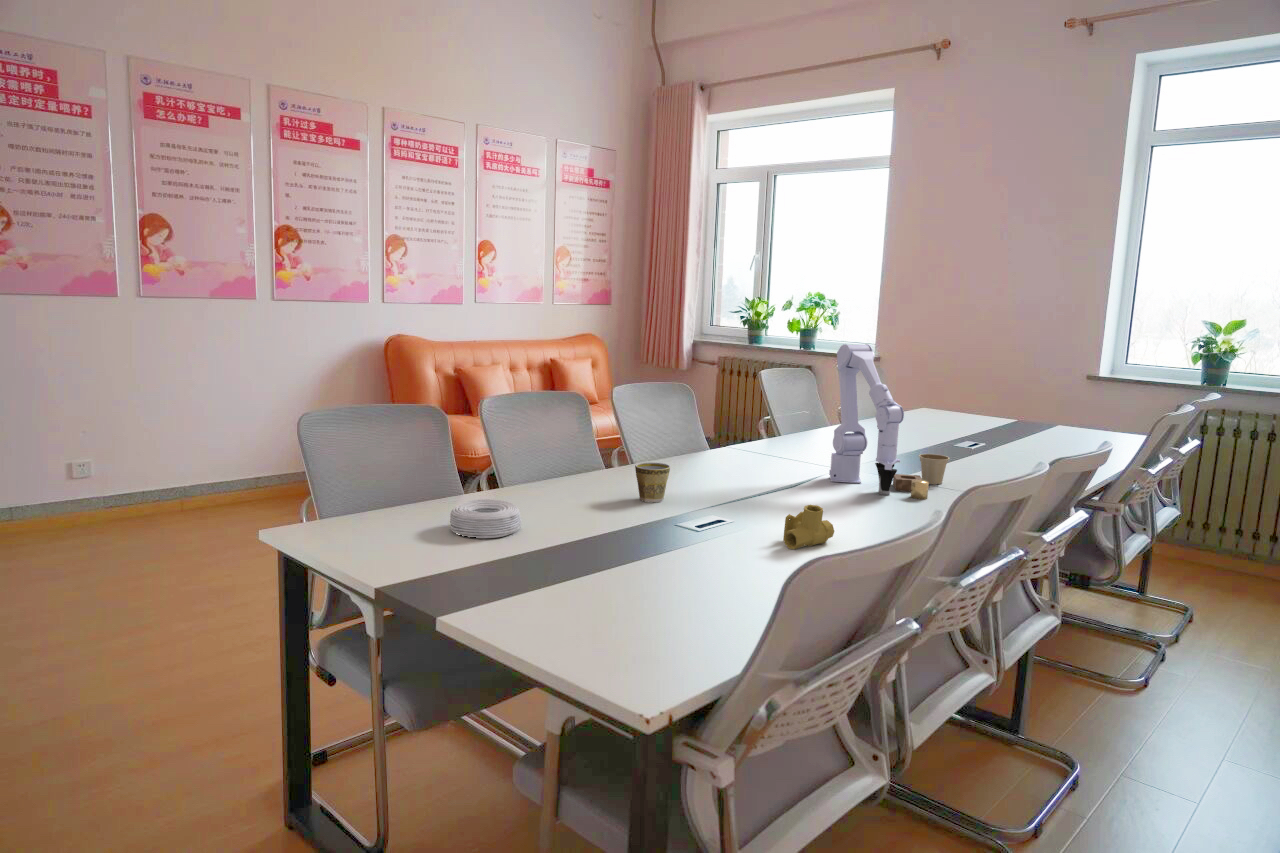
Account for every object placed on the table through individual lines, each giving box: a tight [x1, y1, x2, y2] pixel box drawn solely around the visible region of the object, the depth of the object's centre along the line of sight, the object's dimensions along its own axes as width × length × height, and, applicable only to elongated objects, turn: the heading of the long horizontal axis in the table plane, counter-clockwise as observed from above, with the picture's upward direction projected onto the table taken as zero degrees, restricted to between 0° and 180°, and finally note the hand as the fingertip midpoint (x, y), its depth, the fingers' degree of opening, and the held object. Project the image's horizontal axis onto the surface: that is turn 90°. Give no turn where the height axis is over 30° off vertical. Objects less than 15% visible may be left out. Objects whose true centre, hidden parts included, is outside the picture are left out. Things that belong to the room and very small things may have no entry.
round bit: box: [910, 480, 930, 501], centre depth 256 cm, size 5×5×5 cm
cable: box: [449, 498, 523, 539], centre depth 211 cm, size 18×18×6 cm
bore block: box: [892, 473, 922, 492], centre depth 268 cm, size 8×8×4 cm
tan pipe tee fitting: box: [782, 504, 835, 550], centre depth 206 cm, size 13×10×10 cm
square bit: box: [878, 477, 891, 496], centre depth 260 cm, size 3×3×6 cm
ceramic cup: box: [634, 462, 671, 503], centre depth 246 cm, size 13×10×10 cm
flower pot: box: [918, 453, 950, 486], centre depth 277 cm, size 9×9×9 cm
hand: (884, 488), depth 260 cm, fingers open, 6 cm apart
